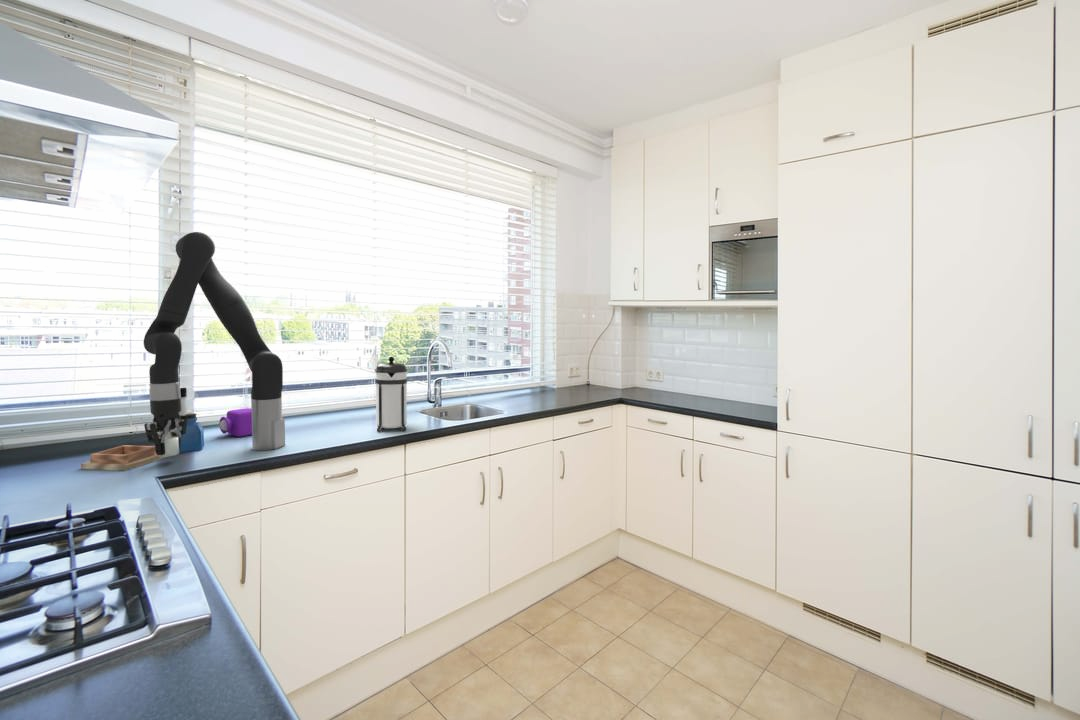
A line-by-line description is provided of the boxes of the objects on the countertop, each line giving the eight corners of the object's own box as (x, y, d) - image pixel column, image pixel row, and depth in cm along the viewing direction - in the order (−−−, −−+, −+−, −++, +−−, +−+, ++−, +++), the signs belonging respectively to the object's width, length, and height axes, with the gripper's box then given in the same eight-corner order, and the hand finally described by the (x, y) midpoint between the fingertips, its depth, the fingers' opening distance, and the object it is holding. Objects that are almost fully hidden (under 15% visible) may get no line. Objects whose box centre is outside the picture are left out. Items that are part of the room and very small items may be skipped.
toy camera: (213, 437, 187) (212, 410, 186) (247, 430, 199) (246, 405, 198) (233, 440, 182) (232, 413, 182) (266, 432, 195) (265, 407, 194)
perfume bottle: (179, 452, 165) (177, 416, 164) (182, 448, 171) (181, 413, 170) (201, 450, 168) (200, 415, 167) (204, 446, 173) (202, 412, 173)
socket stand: (165, 457, 158) (164, 445, 158) (125, 470, 144) (125, 457, 144) (124, 456, 159) (123, 443, 159) (80, 468, 145) (80, 455, 145)
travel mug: (177, 446, 172) (175, 389, 171) (162, 445, 174) (159, 388, 172) (193, 442, 178) (191, 386, 177) (178, 441, 180) (176, 386, 178)
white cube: (183, 452, 155) (182, 436, 155) (170, 456, 150) (169, 440, 150) (167, 451, 156) (166, 436, 155) (153, 456, 150) (152, 440, 150)
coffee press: (419, 428, 209) (419, 356, 207) (389, 434, 195) (389, 358, 193) (391, 422, 218) (391, 354, 216) (360, 429, 205) (360, 356, 202)
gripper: (157, 401, 144) (161, 459, 145) (195, 394, 158) (197, 446, 160) (133, 401, 144) (136, 458, 146) (172, 393, 159) (175, 446, 160)
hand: (168, 452), depth 153 cm, fingers closed on white cube, 5 cm apart
